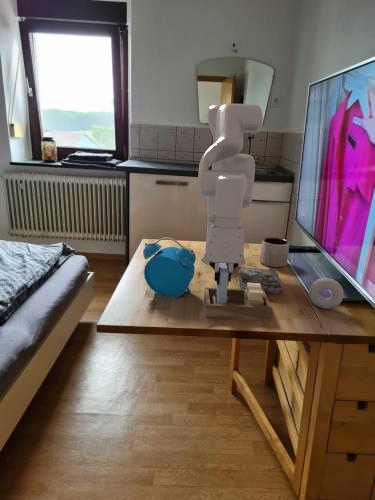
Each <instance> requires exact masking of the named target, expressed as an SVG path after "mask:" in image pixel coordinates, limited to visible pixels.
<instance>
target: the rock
mask: <svg viewBox="0 0 375 500" xmlns="http://www.w3.org/2000/svg"><path fill="white" fill-rule="evenodd" d="M237 272H238V274H239V275H238V280H239V281H238V283H239V284H238V285H239V286H238V287H239V288H238V289H247V283H260V285H261V288H262V290H264V292H265V294H274V295H277V294H279V293H281V290H282V289H283V288H284V287H285V283H283V281H282V280H281V278H280V277H279V274H278V272H277V270H276V269H274V268H273V267H269V268H268V269H267V270H266V269H262V268H258V267H240V268H239V269H237Z"/></svg>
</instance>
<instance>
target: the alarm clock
mask: <svg viewBox="0 0 375 500" xmlns="http://www.w3.org/2000/svg"><path fill="white" fill-rule="evenodd" d="M162 240H171V241H172V242H174V243H175V244H177V245H178V247H177V246H176V247H175V246H166V247H164V248H162V245H161V244H160V243H159V242H160V241H162ZM144 245H145V246H144V248H143V250H142V256H143V258H144V260H145V261H146V260H148V261H147V262H146V264H145V266H144V270H143V275H144V279H145V280H144V281H145V282H146V284H147V285H148V287H149V288H150V289H151V290H152V291H153V293H156V294H158V295H161V296H169V297H171V298H179V297H181V296H183V294H184V293H186V291H187V294H192V291H191V289H190V288H189V287H190V283H191V282H192V280H193V278H194V276H195V263H196V259H197V257H196V254H195V251H194V250H193V249H192V248H190V247H186V246H183V245H182V244H181V243H180V242H178V240H176V239H174V238H172V237H167V236H166V237H161V238H159V239H157V240H156V241H155V242H149V243H147V242H145V243H144Z"/></svg>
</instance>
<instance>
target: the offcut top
mask: <svg viewBox="0 0 375 500" xmlns="http://www.w3.org/2000/svg"><path fill="white" fill-rule="evenodd" d="M247 295H248V300H257V301H262V297H263V292H262V288H261V285H260V283H247Z"/></svg>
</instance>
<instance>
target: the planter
mask: <svg viewBox="0 0 375 500" xmlns="http://www.w3.org/2000/svg"><path fill="white" fill-rule="evenodd" d="M290 243H291V242H290V241H289V240H287V239H286V238H282V237H275V236H274V237H273V236H272V237H271V236H270V237H264V238H262V240H261V249H260V256H259V262H260V263H261V264H262V265H263V266H266V267H269V268H277V269H278V268H283V267H285V266H287V265H288V259H289V250H290Z"/></svg>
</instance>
